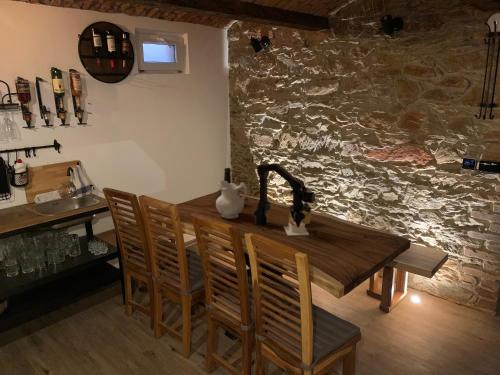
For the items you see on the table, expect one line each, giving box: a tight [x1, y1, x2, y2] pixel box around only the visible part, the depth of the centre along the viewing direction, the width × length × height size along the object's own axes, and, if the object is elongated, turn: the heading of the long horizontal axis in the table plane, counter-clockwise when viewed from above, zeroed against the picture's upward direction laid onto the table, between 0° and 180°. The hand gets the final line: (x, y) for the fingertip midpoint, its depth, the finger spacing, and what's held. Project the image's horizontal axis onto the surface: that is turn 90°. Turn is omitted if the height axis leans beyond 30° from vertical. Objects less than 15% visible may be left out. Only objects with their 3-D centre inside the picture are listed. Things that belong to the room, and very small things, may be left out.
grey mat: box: [283, 225, 310, 237], centre depth 243 cm, size 13×14×1 cm
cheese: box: [288, 210, 312, 226], centre depth 257 cm, size 10×11×10 cm
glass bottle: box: [215, 167, 240, 201], centre depth 291 cm, size 18×18×28 cm
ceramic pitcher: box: [215, 179, 248, 220], centre depth 267 cm, size 22×20×25 cm
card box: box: [288, 221, 306, 232], centre depth 243 cm, size 8×6×5 cm, turn 105°
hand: (296, 224), depth 242 cm, fingers open, 9 cm apart
